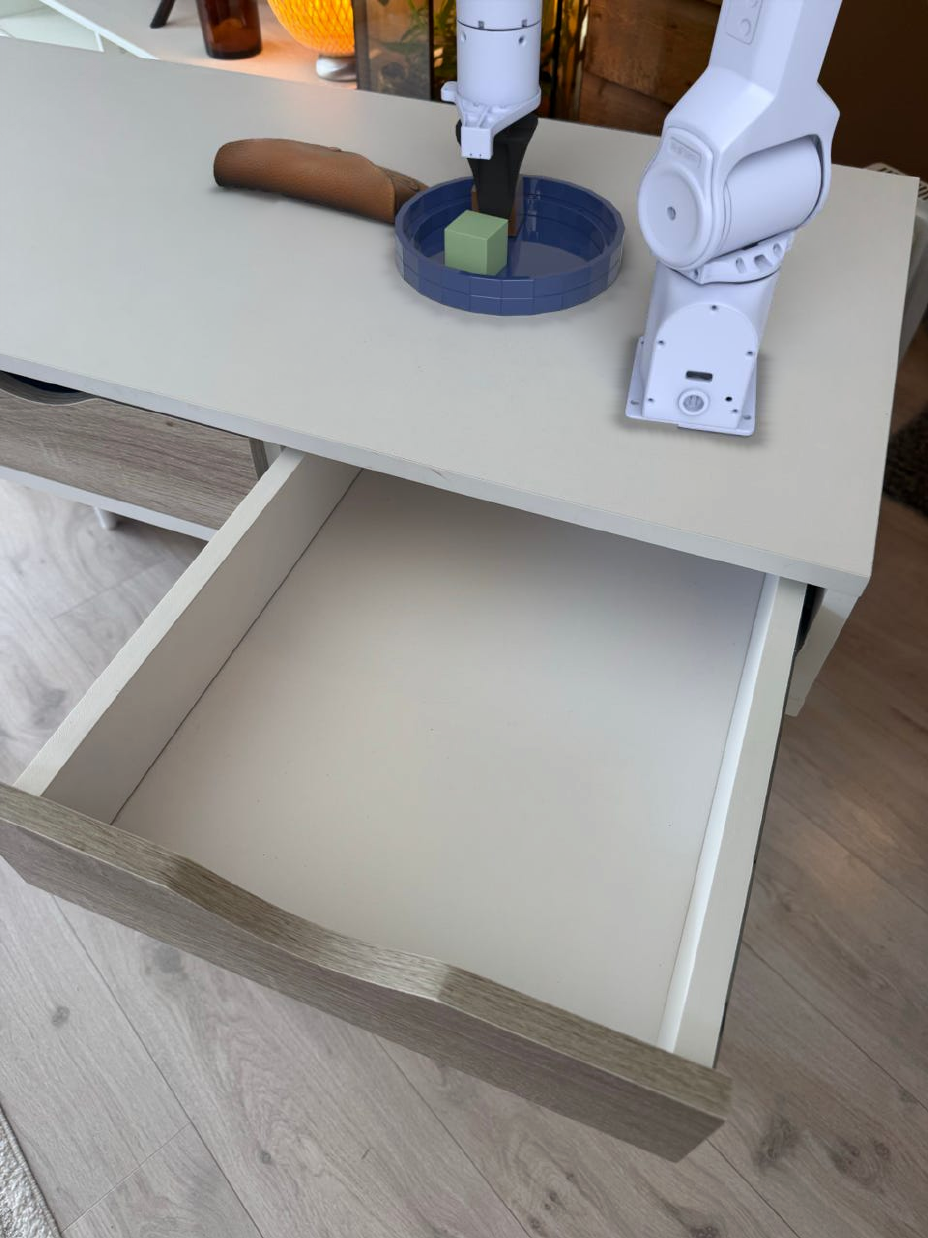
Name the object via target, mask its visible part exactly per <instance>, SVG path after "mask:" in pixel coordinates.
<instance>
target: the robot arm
mask: <svg viewBox="0 0 928 1238" xmlns="http://www.w3.org/2000/svg"><path fill="white" fill-rule="evenodd" d="M455 3H456V6H455V7H456V9H455V11H456V77H457V80H456V81H454V80H453V81H446V82H445V83H444V84H443V85H442V87H441V88H440V99H441V100H442V101H444V102H452V103H454V105H455V107H456V110H457V113H458V116H459V119H458V121H457V122H456V124H455V125H454V126H455V128H454V129H455V138H456V141H457V143H458V145H459V146H460V151H461V152H460V155H461V158H466V160H467V164H468V165H469V168H470V171H471V176H473V179H474V183H475V188H476V194H477V202H478V208H479V213H482V214H486V215H490V216H494V217H498V218H502V219H507V220H508V219H509V217H510V214H511V211H512V207H513V203H514V198H515V192H516V187H517V182H518V177H519V174H521V173H520V172H521V169H522V164H523V161H524V158H525V154H526V151H527V148H528V146H529V144H530V142H531V140H532V138H533V136H534V134H535V132H536V129H537V127H538V126H539V116H538V115H537V114H535V113H532V112H533V111H535V110H536V109H537V108H538V107H539V106H540V104H541V102H542V101H541V100H542V89H541V87H540V84H539V82H540V65H541V64H540V62H541V41H542V40H541V39H542V22H543V21H542V20H543V19H542V18H543V17H542V16H543V0H456V1H455ZM842 3H843V0H722V3H721V8H720V12H719V16H718V21H717V25H716V29H715V34H714V39H713V43H712V47H711V51H710V56H709V61H708V65H707V67H706V69H704V71H703V72H702V74H700V76H699V77H698V78H697V80H696V81H695V82H694V84H693V85H691V87H690V88H689V89H688V90H687V91H686V92H685V93H684V95H683V96H682V97H680V99H679V100H678V101H677V103H676V104H675V105H674V106H673V108H672V109H671V110H670V111H669V112H668V113H667V115H666V116H665V119H664V121H663V125H662V126H663V127H662V131H661V136H660V141H659V142H658V143H659V144H658V146H657V149H656V150H655V152H654V154H653V156H652V158H651V159H650V160H649V162H648V163H647V165H646V166H645V168H644V169H643V172H642V173H641V177H640V179H639V181H638V182H639V183H638V188H637V194H636V211H637V212H636V213H637V219H638V225H639V228H640V232H641V234H642V237H643V239H644V242H645V244H646V246H647V247H648V249H649V254H650V255H651V256H652V257H653V258H654V259H656V262H655V267H654V268H655V270H654V274H653V280H652V288H651V293H650V301H649V305H648V312H647V318H646V324H645V330H644V335H641V336H639V338H638V340H637V346H636V350H635V354H634V355H635V356H634V361H633V367H632V371H631V377H630V383H629V388H628V393H627V398H626V404H625V409H624V415H625V416H626V417H628V418H631V419H637V420H645V421H652V422H661V423H667V424H673V425H677V428H682V429H691V430H698V431H704V432H713V433H720V434H728V435H736V436H742V437H749V436H752V435H753V434H754V431H755V426H756V395H757V394H756V393H757V371H758V370H757V369H758V368H757V367H758V355H759V350H760V347H761V344H762V340H763V336H764V332H765V328H766V324H767V321H768V317H769V314H770V310H771V305H772V302H773V298H774V294H775V290H776V287H777V283H778V279H779V276H780V272H781V268H782V264H783V261H784V258H785V254H786V253H787V252H789V251H791V250H792V248H793V243H794V241H795V236H796V233H797V230H799V229H802V228H803V227H805V226H807V225H808V224H810V223H811V222H812V221H813V220H814V219H815V218H817V216H818V215H819V213H820V212H821V211H822V210H823V207H824V205H825V203H826V201H827V199H828V196H829V193H830V190H831V189H830V188H831V184H832V173H833V172H832V156H831V155H832V143H833V138H834V134H835V130H836V127H837V125H838V121H839V118H840V116H841V113H840V110H839V108H838V107H837V105H836V103H835V102H834V100H833V99H832V98H831V96H830V95H829V94H827V92H826V91H825V89H823V87H822V86H821V85H820V83H819V82H818V79H819V75H820V72H821V69H822V67H823V64H824V59H825V56H826V53H827V50H828V47H829V44H830V40H831V38H832V34H833V30H834V28H835V25H836V21H837V18H838V15H839V12H840V8H841V6H842ZM635 403H637V404H635Z"/></svg>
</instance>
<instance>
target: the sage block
mask: <svg viewBox="0 0 928 1238" xmlns="http://www.w3.org/2000/svg"><path fill="white" fill-rule="evenodd" d="M444 232H445V266H448V267H452V268H456V269H459V270H463V271H467V272H471V273H476V274H485V275H494V276H495V275H496V274H497V273H498V272H499V271H500V270H501V269H502V268H504V267H505V266H506V264H507V239H508V220H507V219H502V218H498V217H494V216H490V215H486V214H482V213H477V212H473V211H469V210H466V211H465V212H464V213H462V214H461V215H460V216H459V217H458V218H457V219H456V220H454V221H453V222H452V223H451V224H450V225H449V226H447V227H446V228H445V230H444Z"/></svg>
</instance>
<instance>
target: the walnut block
mask: <svg viewBox="0 0 928 1238" xmlns="http://www.w3.org/2000/svg"><path fill="white" fill-rule="evenodd" d="M523 174H524V173H519V177H518V182H517V187H516V192H515V198H514V203H513V207H512V211H511V214H510V217H509V219H508V236H516V235H517V232H518V230H519V227H520V225H521V222H522V220H523ZM471 200H472V211H473V212H477V213H479V208H478V202H477V194H476V188H475V184H474V186H473V188H472V190H471Z"/></svg>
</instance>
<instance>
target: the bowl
mask: <svg viewBox="0 0 928 1238" xmlns="http://www.w3.org/2000/svg"><path fill="white" fill-rule="evenodd" d="M522 174H523V220H522V222H521V225H520V227H519V230H518V232H517V235H516V236H508V239H507V264H506V266H505V267H504V268H502V269H501V270H500V271H499V272H498V273H497V274H496V275H495V276H494V275H485V274H476V273H471V272H467V271H463V270H459V269H456V268H452V267H448V266H445V232H444V230H445V228H446V227H447V226H449V225H450V224H451V223H452V222H453V221H454V220H456V219H457V218H458V217H459V216H460V215H461V214H462V213H464V212H465V211H466V210H469V211H472V200H471V190H472V188H473V186H474V184H475V183H474V179H473V175H469V176H460V177H457V178H453V179H449V180H446V181H443V182H438V183H436V184H434V185H432V186H429V188H428V189H425V190H423V191H421V192H419V193H417V194H416V195H414V196H413V197H412V198H411V199H409V200H408V201H407V202H406V203H404V204H403V206H402V207H401V209H400V211H399V212H398V214H397V216H396V218H395V224H394V241H395V258H396V267H397V269H398V270H399V272H400V274H401V276H402V278H403V280H404V281H405V282H406V283H407V284H408V285H410V286H411V287H412V288H413V289H414V290H415V291H417V292H418V293H419V294H421V295H423V296H425V297H426V298H429V299H430V300H433V301H435V302H437V303H440V304H441V305H444V306H448V307H451V308H455V309H459V310H462V311H466V312H471V313H478V314H487V315H493V316H494V315H496V316H501V317H504V316H533V315H538V314H539V315H540V314H544V313H551V312H557V311H562V310H566V309H569V308H572V307H575V306H577V305H580V304H583V303H587V302H588V301H590V300H591V299H593V298H595V297H597V296H598V295H600V294H602V293H603V292H605V291H606V290H607V289H608V288H609V286H611V284H612V283H613V282H614V281H615V280H616V278H617V277H618V275H619V272H620V267H621V263H622V258H623V250H624V249H623V248H624V242H625V235H626V234H625V233H626V225H625V222H624V219H623V217H622V214H621V212H620V211H619V210H618V209H617V208H616V207H615V205H613V203H612V202H611V201H610V200H608V199H607V198H605V197H603V196H602V195H600V194H599V193H597V192H595V191H593V190H592V189H589V188H587V187H584V186H582V185H580V184H576V183H575V182H572V181H568V180H564V179H559V178H554V177H550V176H545V175H538V174H527V173H522Z"/></svg>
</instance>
